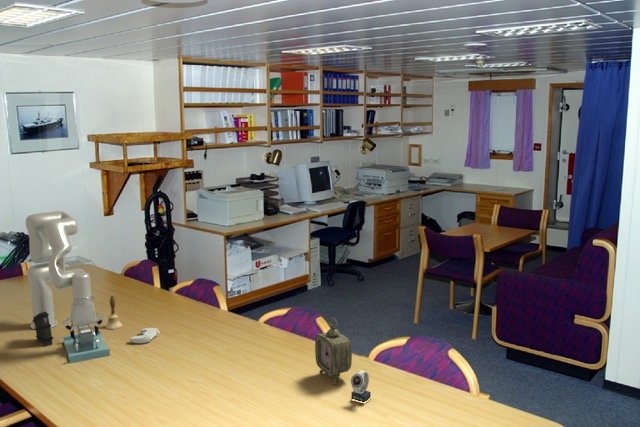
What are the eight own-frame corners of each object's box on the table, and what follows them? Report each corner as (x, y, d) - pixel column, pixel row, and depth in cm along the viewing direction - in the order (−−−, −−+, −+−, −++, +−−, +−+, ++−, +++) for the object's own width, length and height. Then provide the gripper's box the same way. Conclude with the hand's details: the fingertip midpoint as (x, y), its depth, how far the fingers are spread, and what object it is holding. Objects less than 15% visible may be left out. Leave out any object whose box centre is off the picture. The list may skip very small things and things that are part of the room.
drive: (78, 342, 263) (76, 326, 261) (89, 340, 265) (88, 324, 264) (81, 352, 253) (80, 334, 251) (93, 349, 255) (92, 332, 254)
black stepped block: (47, 345, 259) (39, 313, 261) (38, 349, 268) (30, 318, 271) (56, 342, 262) (47, 311, 264) (46, 347, 271) (39, 316, 273)
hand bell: (122, 322, 292) (120, 292, 289) (122, 328, 284) (120, 297, 281) (105, 324, 289) (103, 294, 287) (104, 330, 281) (102, 299, 279)
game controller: (142, 326, 278) (160, 323, 276) (144, 335, 279) (162, 332, 276) (127, 337, 264) (146, 334, 262) (129, 346, 265) (148, 344, 263)
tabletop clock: (315, 373, 233) (314, 314, 229) (334, 368, 238) (334, 310, 234) (333, 387, 221) (333, 325, 217) (353, 382, 225) (353, 321, 221)
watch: (348, 402, 209) (348, 374, 208) (360, 393, 216) (360, 366, 214) (361, 406, 206) (361, 378, 204) (373, 398, 213) (373, 370, 211)
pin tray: (63, 342, 266) (62, 331, 265) (100, 336, 274) (99, 325, 273) (70, 363, 244) (69, 351, 243) (109, 355, 252) (109, 344, 251)
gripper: (101, 294, 263) (103, 330, 266) (60, 300, 254) (63, 337, 257) (104, 299, 256) (106, 335, 259) (62, 305, 248) (65, 343, 251)
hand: (84, 336), depth 258 cm, fingers open, 9 cm apart
